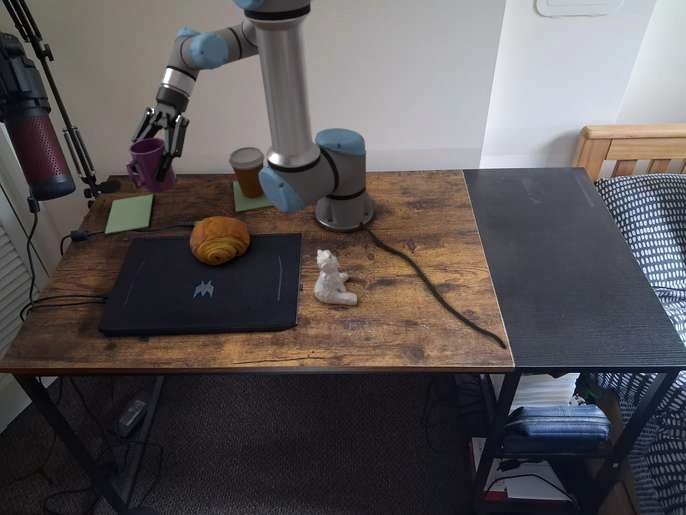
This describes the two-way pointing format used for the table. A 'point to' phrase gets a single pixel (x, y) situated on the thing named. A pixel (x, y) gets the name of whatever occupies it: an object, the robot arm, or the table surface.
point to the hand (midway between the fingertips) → (145, 176)
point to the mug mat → (129, 214)
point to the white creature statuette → (332, 281)
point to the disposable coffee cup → (248, 170)
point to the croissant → (219, 239)
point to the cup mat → (248, 200)
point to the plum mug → (149, 165)
